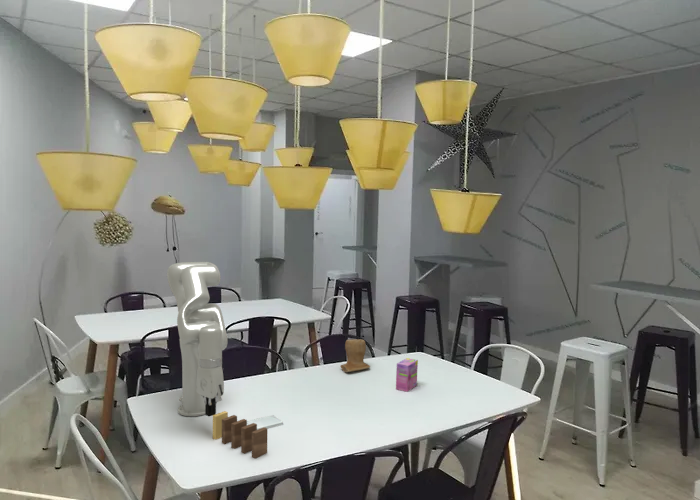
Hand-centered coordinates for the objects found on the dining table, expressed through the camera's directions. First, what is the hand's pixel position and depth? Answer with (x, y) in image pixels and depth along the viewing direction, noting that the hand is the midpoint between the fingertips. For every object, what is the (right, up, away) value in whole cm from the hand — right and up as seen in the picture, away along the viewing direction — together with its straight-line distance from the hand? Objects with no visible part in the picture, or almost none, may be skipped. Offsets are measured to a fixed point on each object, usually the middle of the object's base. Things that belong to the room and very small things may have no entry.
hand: (210, 414), depth 176 cm
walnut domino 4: (+19, -8, -15) cm, 26 cm away
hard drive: (+16, -7, +8) cm, 20 cm away
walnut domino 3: (+16, -7, -12) cm, 21 cm away
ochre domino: (+4, -7, -3) cm, 8 cm away
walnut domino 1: (+8, -7, -6) cm, 12 cm away
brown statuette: (+50, -2, +76) cm, 91 cm away
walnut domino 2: (+12, -7, -9) cm, 16 cm away
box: (+73, -5, +51) cm, 89 cm away
